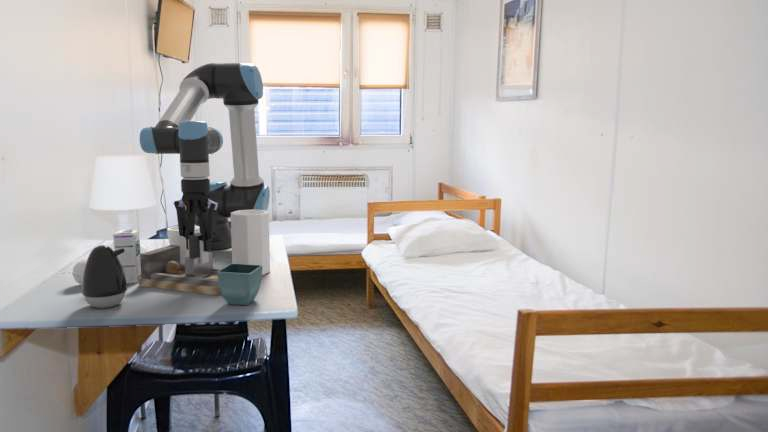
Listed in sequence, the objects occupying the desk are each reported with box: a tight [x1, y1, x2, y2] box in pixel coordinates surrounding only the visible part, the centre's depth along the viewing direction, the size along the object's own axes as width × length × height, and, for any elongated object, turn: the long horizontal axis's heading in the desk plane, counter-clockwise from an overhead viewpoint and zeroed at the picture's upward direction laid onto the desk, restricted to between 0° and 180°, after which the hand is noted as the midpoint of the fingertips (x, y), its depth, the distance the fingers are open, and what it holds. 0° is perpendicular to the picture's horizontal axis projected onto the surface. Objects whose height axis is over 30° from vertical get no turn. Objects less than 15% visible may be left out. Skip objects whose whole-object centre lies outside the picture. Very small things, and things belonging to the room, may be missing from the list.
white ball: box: [61, 258, 88, 286], centre depth 170 cm, size 10×7×7 cm
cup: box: [230, 209, 271, 277], centre depth 184 cm, size 11×11×18 cm
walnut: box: [165, 261, 180, 275], centre depth 174 cm, size 4×4×4 cm
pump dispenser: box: [81, 244, 128, 309], centre depth 151 cm, size 10×10×15 cm
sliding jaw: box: [184, 233, 214, 278], centre depth 170 cm, size 3×8×12 cm, turn 160°
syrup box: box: [112, 229, 142, 285], centre depth 174 cm, size 6×6×14 cm
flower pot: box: [217, 263, 263, 306], centre depth 155 cm, size 9×9×9 cm
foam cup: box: [166, 225, 200, 264], centre depth 188 cm, size 10×9×13 cm
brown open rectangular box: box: [138, 244, 224, 296], centre depth 171 cm, size 26×14×9 cm, turn 70°
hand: (198, 261), depth 170 cm, fingers closed on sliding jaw, 3 cm apart
